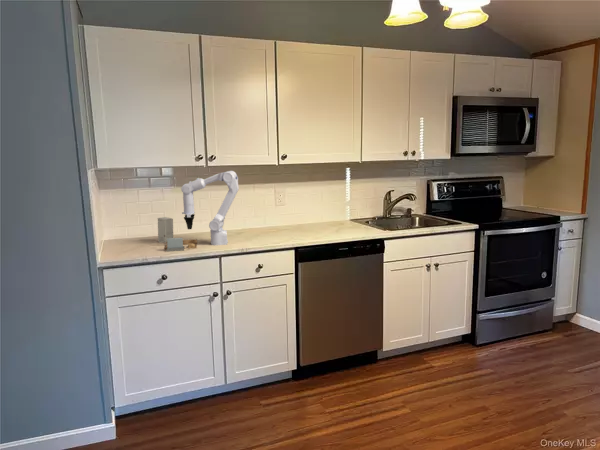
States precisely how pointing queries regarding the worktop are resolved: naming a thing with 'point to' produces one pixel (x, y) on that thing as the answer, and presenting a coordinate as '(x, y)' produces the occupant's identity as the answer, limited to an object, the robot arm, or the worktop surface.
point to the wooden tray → (186, 242)
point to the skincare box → (165, 229)
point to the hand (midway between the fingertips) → (190, 228)
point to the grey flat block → (175, 242)
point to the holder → (175, 249)
